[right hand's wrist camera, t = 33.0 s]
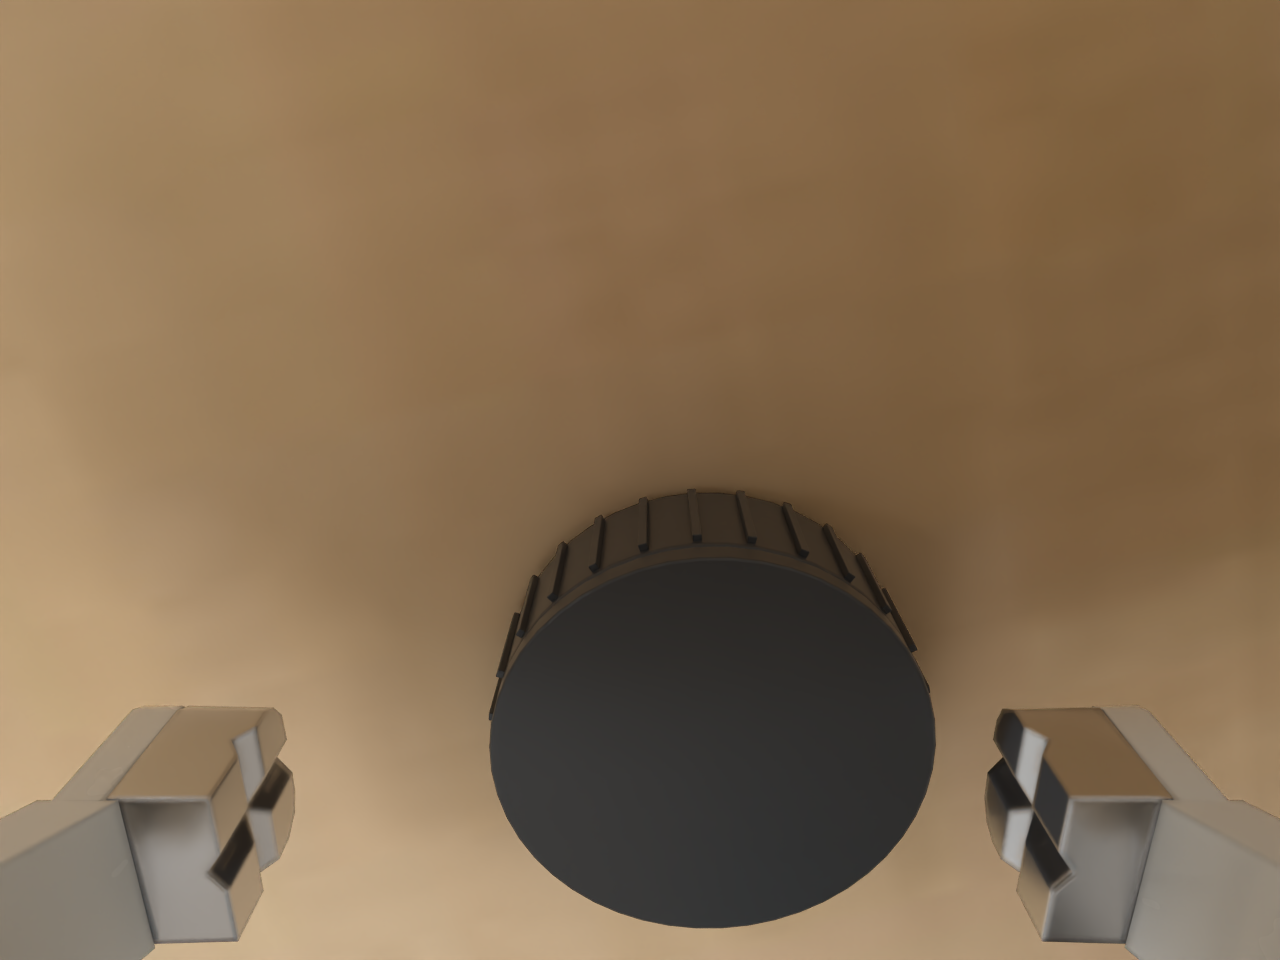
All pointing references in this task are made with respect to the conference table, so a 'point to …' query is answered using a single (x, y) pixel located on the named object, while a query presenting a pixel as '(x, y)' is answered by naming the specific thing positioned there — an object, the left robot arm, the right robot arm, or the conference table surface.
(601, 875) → the lid
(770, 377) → the conference table surface
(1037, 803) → the right robot arm
